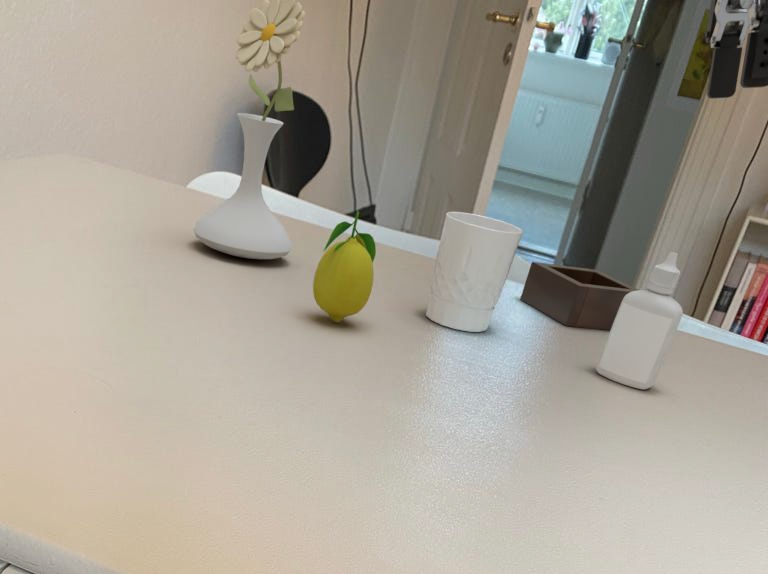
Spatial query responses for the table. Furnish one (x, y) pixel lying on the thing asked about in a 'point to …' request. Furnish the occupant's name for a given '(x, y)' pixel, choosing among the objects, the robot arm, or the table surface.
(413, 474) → the table surface
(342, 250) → the lemon
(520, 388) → the table surface
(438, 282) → the white cup
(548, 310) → the holder
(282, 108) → the flower in vase
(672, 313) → the eye dropper bottle
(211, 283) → the table surface
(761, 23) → the robot arm
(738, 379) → the table surface
